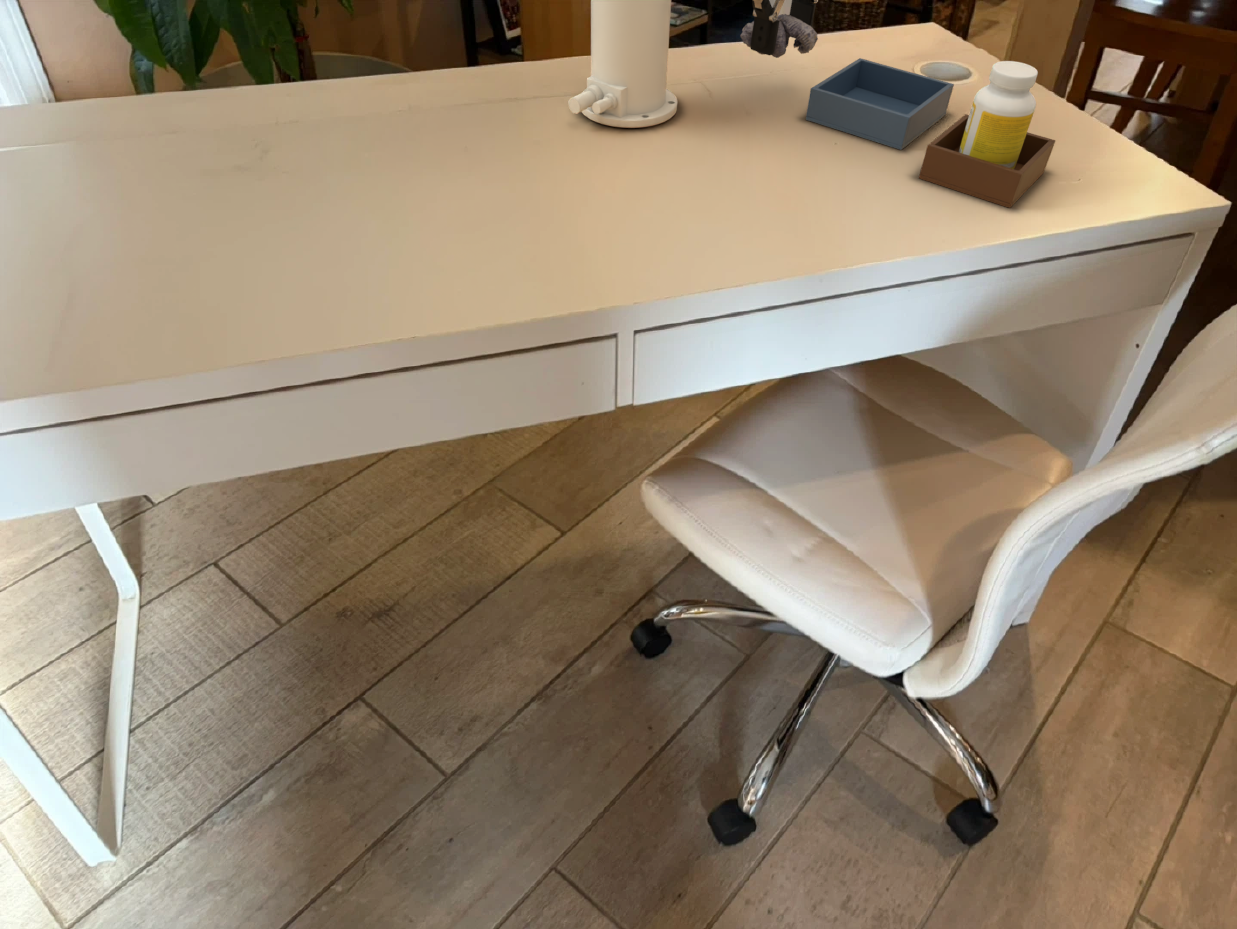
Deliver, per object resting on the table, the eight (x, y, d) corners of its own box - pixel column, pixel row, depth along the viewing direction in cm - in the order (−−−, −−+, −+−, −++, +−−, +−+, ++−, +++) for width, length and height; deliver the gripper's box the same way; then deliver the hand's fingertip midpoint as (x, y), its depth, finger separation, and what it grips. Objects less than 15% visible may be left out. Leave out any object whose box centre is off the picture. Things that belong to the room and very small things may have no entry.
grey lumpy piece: (808, 62, 118) (735, 65, 116) (804, 18, 117) (731, 21, 115) (826, 47, 112) (750, 51, 110) (822, 2, 112) (746, 5, 110)
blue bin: (901, 150, 109) (909, 117, 106) (805, 119, 115) (810, 87, 112) (945, 115, 117) (954, 83, 114) (853, 88, 122) (859, 57, 119)
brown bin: (1009, 208, 99) (1022, 174, 96) (918, 178, 104) (927, 144, 101) (1043, 173, 105) (1055, 140, 103) (955, 146, 110) (965, 113, 107)
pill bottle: (1018, 185, 102) (1055, 81, 94) (961, 184, 102) (993, 79, 94) (1002, 159, 107) (1036, 58, 99) (947, 157, 107) (977, 56, 99)
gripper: (816, -133, 109) (788, 19, 121) (739, -113, 99) (718, 52, 111) (872, -121, 106) (838, 34, 118) (799, -99, 96) (770, 69, 108)
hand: (780, 42), depth 115 cm, fingers closed on grey lumpy piece, 8 cm apart
